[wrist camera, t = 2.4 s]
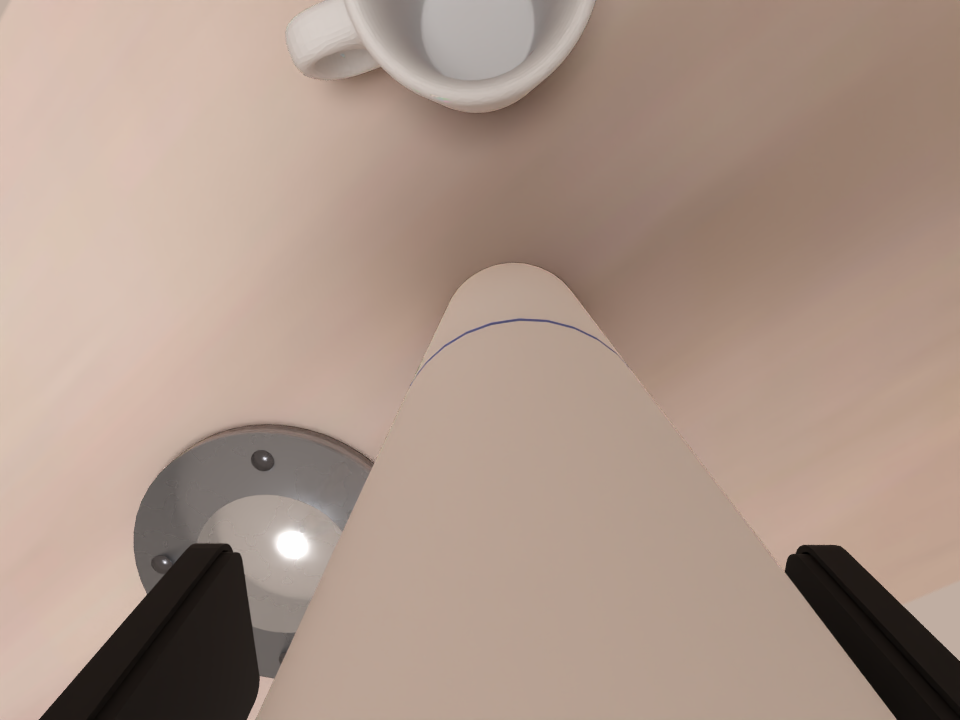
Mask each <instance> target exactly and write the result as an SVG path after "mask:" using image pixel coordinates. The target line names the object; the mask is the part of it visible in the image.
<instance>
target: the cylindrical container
mask: <svg viewBox="0 0 960 720" xmlns="http://www.w3.org/2000/svg"><path fill="white" fill-rule="evenodd" d="M256 720H897V719H896V718H895V717H894V715H893V714H892V713H891V711H890V710H889V709H888V707H887V706H886V705H885V703H884V702H883V701H882V699H881V698H880V697H879V696H878V694H877V693H876V692H875V690H874V689H873V688H872V686H871V685H870V684H869V682H868V681H867V680H866V678H865V677H864V676H863V674H862V673H861V672H860V671H859V669H858V668H857V667H856V665H855V664H854V663H853V661H852V660H851V659H850V657H849V656H848V655H847V653H846V652H845V651H844V649H843V648H842V647H841V646H840V644H839V643H838V642H837V640H836V639H835V638H834V636H833V635H832V634H831V632H830V631H829V630H828V628H827V627H826V626H825V624H824V623H823V622H822V621H821V619H820V618H819V617H818V615H817V614H816V613H815V611H814V610H813V609H812V607H811V606H810V605H809V603H808V602H807V601H806V599H805V598H804V597H803V596H802V594H801V593H800V592H799V590H798V589H797V588H796V586H795V585H794V584H793V582H792V581H791V580H790V578H789V577H788V576H787V574H786V573H785V572H784V571H783V569H782V568H781V567H780V565H779V564H778V563H777V561H776V560H775V559H774V557H773V556H772V555H771V553H770V552H769V551H768V549H767V548H766V547H765V546H764V544H763V543H762V542H761V540H760V539H759V538H758V536H757V535H756V534H755V532H754V531H753V530H752V528H751V527H750V526H749V524H748V523H747V522H746V521H745V519H744V518H743V517H742V515H741V514H740V513H739V511H738V510H737V509H736V507H735V506H734V505H733V503H732V502H731V501H730V499H729V498H728V497H727V495H726V494H725V493H724V492H723V490H722V489H721V488H720V486H719V485H718V484H717V482H716V481H715V480H714V478H713V477H712V476H711V474H710V473H709V472H708V470H707V469H706V468H705V466H704V465H703V464H702V462H701V461H700V460H699V459H698V457H697V456H696V455H695V453H694V452H693V451H692V449H691V448H690V447H689V445H688V444H687V443H686V441H685V440H684V439H683V437H682V436H681V435H680V433H679V432H678V431H677V430H676V428H675V427H674V426H673V424H672V423H671V422H670V420H669V419H668V418H667V416H666V415H665V414H664V412H663V411H662V410H661V408H660V407H659V406H658V404H657V403H656V402H655V400H654V399H653V398H652V397H651V395H650V394H649V393H648V391H647V390H646V389H645V387H644V386H643V385H642V383H641V382H640V381H639V379H638V378H637V377H636V375H635V374H634V373H633V372H632V370H631V369H630V367H629V366H628V365H627V364H626V362H625V361H624V360H623V358H622V357H621V356H620V354H619V353H618V352H617V350H616V349H615V348H614V346H613V345H612V344H611V343H610V341H609V340H608V339H607V337H606V336H605V335H604V333H603V332H602V331H601V329H600V328H599V327H598V325H597V324H596V323H595V322H594V320H593V319H592V318H591V316H590V315H589V314H588V312H587V311H586V310H585V308H584V307H583V306H582V304H581V303H580V302H579V300H578V299H577V298H576V296H575V295H574V294H573V292H572V291H571V290H570V289H569V288H568V287H567V286H566V284H565V283H564V282H563V281H562V280H560V279H559V278H558V277H556V276H555V275H554V274H552V273H550V272H548V271H546V270H544V269H542V268H540V267H537V266H533V265H529V264H525V263H505V264H499V265H494V266H491V267H489V268H486V269H483V270H481V271H479V272H478V273H476V274H474V275H473V276H471V277H470V278H468V279H467V280H466V281H465V282H464V283H463V284H462V285H461V286H460V287H459V288H458V290H457V291H456V292H455V294H454V295H453V296H452V298H451V300H450V302H449V304H448V306H447V308H446V311H445V313H444V315H443V317H442V319H441V321H440V323H439V325H438V328H437V330H436V332H435V334H434V336H433V338H432V340H431V342H430V345H429V347H428V349H427V351H426V353H425V355H424V357H423V359H422V361H421V364H420V366H419V368H418V370H417V372H416V374H415V376H414V379H413V381H412V383H411V385H410V387H409V389H408V391H407V393H406V396H405V398H404V400H403V402H402V404H401V406H400V409H399V411H398V413H397V415H396V417H395V419H394V422H393V424H392V426H391V428H390V430H389V432H388V435H387V437H386V439H385V441H384V443H383V445H382V447H381V450H380V452H379V454H378V456H377V458H376V460H375V463H374V465H373V467H372V469H371V471H370V473H369V476H368V478H367V480H366V482H365V484H364V486H363V488H362V491H361V493H360V495H359V497H358V499H357V501H356V504H355V506H354V508H353V510H352V512H351V514H350V517H349V519H348V521H347V523H346V525H345V527H344V530H343V532H342V534H341V536H340V538H339V540H338V542H337V545H336V547H335V549H334V551H333V553H332V555H331V558H330V560H329V562H328V564H327V566H326V568H325V571H324V573H323V575H322V577H321V579H320V581H319V584H318V586H317V588H316V590H315V592H314V594H313V596H312V599H311V601H310V603H309V605H308V607H307V609H306V612H305V614H304V616H303V618H302V620H301V622H300V625H299V627H298V629H297V631H296V633H295V635H294V637H293V640H292V642H291V644H290V646H289V648H288V650H287V653H286V655H285V657H284V659H283V661H282V663H281V666H280V668H279V670H278V672H277V674H276V676H275V679H274V681H273V683H272V685H271V687H270V689H269V691H268V694H267V696H266V698H265V700H264V702H263V704H262V707H261V709H260V711H259V713H258V715H257V717H256Z"/></svg>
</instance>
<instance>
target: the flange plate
mask: <svg viewBox="0 0 960 720" xmlns="http://www.w3.org/2000/svg"><path fill="white" fill-rule="evenodd" d="M373 465H374V463H373V462H371V461H370V460H369V459H367V458H366V457H365V456H363V455H362V454H361V453H359V452H357V451H356V450H354V449H352V448H351V447H349V446H347V445H346V444H344V443H342V442H339V441H337V440H335V439H333V438H330V437H328V436H326V435H323V434H319V433H316V432H313V431H310V430H306V429H301V428H296V427H290V426H280V425H254V426H245V427H240V428H235V429H230V430H227V431H224V432H221V433H218V434H215V435H212V436H210V437H208V438H206V439H204V440H202V441H200V442H198V443H197V444H195V445H194V446H192V447H191V448H189V449H188V450H186V451H185V452H184V453H182V454H181V455H180V456H179V457H177V458H176V459H175V460H174V461H173V462H171V463H170V464H169V465H168V466H167V467H166V468H165V469H164V470H163V471H162V472H161V473H160V474H159V475H158V476H157V478H156V479H155V480H154V481H153V483H152V484H151V485H150V487H149V488H148V490H147V492H146V494H145V496H144V498H143V500H142V501H141V504H140V507H139V510H138V513H137V516H136V522H135V528H134V553H135V560H136V566H137V569H138V572H139V576H140V579H141V582H142V584H143V586H144V588H145V590H146V593H147V594H148V593H149V592H150V591H151V590H152V588H153V587H154V586H155V585H156V584H157V583H158V582H159V580H160V579H161V578H162V577H163V576H164V575H165V573H166V572H167V571H168V570H169V569H170V568H171V567H172V565H173V564H174V563H175V562H176V561H177V560H178V558H179V557H180V556H181V555H182V554H183V553H184V552H185V550H186V549H187V548H188V547H189V546H190V545H192V544H195V543H227V544H229V545H230V546H231V548H232V550H233V552H238V553H240V555H241V556H242V560H243V567H244V574H245V581H246V587H247V594H248V601H249V608H250V615H251V621H252V628H253V635H254V642H255V648H256V655H257V662H258V669H259V676H263V677H269V678H274V679H275V676H276V674H277V672H278V670H279V668H280V666H281V663H282V661H283V659H284V657H285V655H286V653H287V650H288V648H289V646H290V644H291V642H292V640H293V637H294V635H295V633H296V631H297V629H298V627H299V625H300V622H301V620H302V618H303V616H304V614H305V612H306V609H307V607H308V605H309V603H310V601H311V599H312V596H313V594H314V592H315V590H316V588H317V586H318V584H319V581H320V579H321V577H322V575H323V573H324V571H325V568H326V566H327V564H328V562H329V560H330V558H331V555H332V553H333V551H334V549H335V547H336V545H337V542H338V540H339V538H340V536H341V534H342V532H343V530H344V527H345V525H346V523H347V521H348V519H349V517H350V514H351V512H352V510H353V508H354V506H355V504H356V501H357V499H358V497H359V495H360V493H361V491H362V488H363V486H364V484H365V482H366V480H367V478H368V476H369V473H370V471H371V469H372V467H373Z"/></svg>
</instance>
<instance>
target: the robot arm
mask: <svg viewBox="0 0 960 720" xmlns="http://www.w3.org/2000/svg"><path fill="white" fill-rule="evenodd" d="M785 573H786V574H787V576H788V577H789V578H790V580H791V581H792V582H793V584H794V585H795V586H796V588H797V589H798V590H799V592H800V593H801V594H802V596H803V597H804V598H805V599H806V601H807V602H808V603H809V605H810V606H811V607H812V609H813V610H814V611H815V613H816V614H817V615H818V617H819V618H820V619H821V621H822V622H823V623H824V624H825V626H826V627H827V628H828V630H829V631H830V632H831V634H832V635H833V636H834V638H835V639H836V640H837V642H838V643H839V644H840V646H841V647H842V648H843V649H844V651H845V652H846V653H847V655H848V656H849V657H850V659H851V660H852V661H853V663H854V664H855V665H856V667H857V668H858V669H859V671H860V672H861V673H862V674H863V676H864V677H865V678H866V680H867V681H868V682H869V684H870V685H871V686H872V688H873V689H874V690H875V692H876V693H877V694H878V696H879V697H880V698H881V699H882V701H883V702H884V703H885V705H886V706H887V707H888V709H889V710H890V711H891V713H892V714H893V715H894V717H895V718H896V719H897V720H960V661H959V660H958V659H957V658H956V657H955V656H954V655H953V654H952V653H951V652H950V651H949V650H948V649H947V648H946V647H944V646H943V645H942V644H941V643H940V642H939V641H938V640H937V639H936V638H935V637H934V636H933V635H932V634H931V633H930V632H929V631H928V630H927V629H926V628H925V627H924V626H923V625H922V624H921V623H920V622H919V621H918V620H917V619H916V618H915V617H914V616H913V615H912V614H911V613H910V612H909V611H908V610H907V609H906V608H904V607H903V606H902V605H901V604H900V603H899V602H898V601H897V600H896V599H895V598H894V597H893V596H892V595H891V594H890V593H889V592H888V591H887V590H886V589H885V588H884V587H883V586H882V585H881V584H880V583H879V582H878V581H877V580H876V579H875V578H874V577H873V576H872V575H871V574H870V573H869V572H868V571H866V570H865V569H864V568H863V567H862V566H861V565H860V564H859V563H858V562H857V561H856V560H855V559H854V558H853V557H852V556H851V555H850V554H849V553H848V552H847V551H846V550H845V549H843V548H842V547H841V546H837V545H803V546H800V547H799V548H798V550H797V552H796V554H791V555H790V556H789V557H788V559H787V563H786V568H785ZM259 681H260V677H259V669H258V662H257V655H256V648H255V642H254V635H253V628H252V621H251V615H250V608H249V601H248V594H247V587H246V581H245V574H244V567H243V560H242V556H241V555H240V553H238V552H233V550H232V548H231V546H230V545H229V544H227V543H195V544H192V545H190V546H189V547H188V548H187V549H186V550H185V552H184V553H183V554H182V555H181V556H180V557H179V558H178V560H177V561H176V562H175V563H174V564H173V565H172V567H171V568H170V569H169V570H168V571H167V572H166V573H165V575H164V576H163V577H162V578H161V579H160V580H159V582H158V583H157V584H156V585H155V586H154V587H153V588H152V590H151V591H150V592H149V593H148V594H147V595H146V597H145V598H144V599H143V600H142V601H141V602H140V603H139V605H138V606H137V607H136V608H135V609H134V610H133V612H132V613H131V614H130V615H129V616H128V617H127V619H126V620H125V621H124V622H123V623H122V624H121V625H120V627H119V628H118V629H117V630H116V631H115V632H114V634H113V635H112V636H111V637H110V638H109V639H108V640H107V642H106V643H105V644H104V645H103V646H102V647H101V649H100V650H99V651H98V652H97V653H96V654H95V655H94V657H93V658H92V659H91V660H90V661H89V662H88V664H87V665H86V666H85V667H84V668H83V669H82V671H81V672H80V673H79V674H78V675H77V676H76V677H75V679H74V680H73V681H72V682H71V683H70V684H69V686H68V687H67V688H66V689H65V690H64V691H63V692H62V694H61V695H60V696H59V697H58V698H57V699H56V701H55V702H54V703H53V704H52V705H51V706H50V707H49V709H48V710H47V711H46V712H45V713H44V714H43V716H42V717H41V718H40V719H39V720H247V718H248V716H249V713H250V711H251V709H252V707H253V705H254V703H255V700H256V697H257V694H258V689H259Z"/></svg>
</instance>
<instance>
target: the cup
mask: <svg viewBox="0 0 960 720" xmlns="http://www.w3.org/2000/svg"><path fill="white" fill-rule="evenodd" d="M595 2H596V0H325V1H323V2H320V3H318V4H316V5H314V6H312V7H309V8H307V9H306V10H304V11H302V12H301V13H299V14H298V15H296V16H295V17H294V18H293V19H292V20H291V21H290V23H289V24H288V26H287V28H286V32H285V36H286V44H287V48H288V51H289V53H290V56H291V58H292V60H293V63H294V65H295V66H296V67H297V69H298V70H299V71H300V72H301V73H303V74H304V75H306V76H308V77H311V78H314V79H319V80H340V79H345V78H350V77H353V76H357V75H360V74H363V73H366V72H368V71H372V70H374V69H377V68H379V67H382V68H383V69H384V70H385V71H386V72H387V73H388V74H389V75H390V76H391V77H392V78H393V79H395V80H396V81H397V82H398V83H400V84H401V85H403V86H404V87H406V88H407V89H409V90H410V91H412V92H414V93H416V94H418V95H420V96H422V97H424V98H427V99H429V100H431V101H434V102H436V103H438V104H441V105H443V106H445V107H448V108H451V109H454V110H457V111H462V112H468V113H485V112H491V111H496V110H499V109H502V108H505V107H507V106H509V105H511V104H513V103H515V102H517V101H518V100H520V99H521V98H523V97H524V96H526V95H527V94H528V93H529V92H530V91H532V90H533V89H534V88H535V87H536V86H538V85H539V84H540V83H541V82H542V81H543V80H545V79H546V78H547V77H548V76H549V75H550V74H552V73H553V72H554V71H555V70H556V69H557V68H558V67H559V66H560V64H561V63H562V62H563V61H564V60H565V59H566V57H567V56H568V55H569V53H570V52H571V51H572V49H573V48H574V46H575V45H576V43H577V42H578V40H579V38H580V37H581V35H582V33H583V31H584V29H585V27H586V25H587V23H588V21H589V18H590V16H591V13H592V11H593V8H594V5H595Z"/></svg>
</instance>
